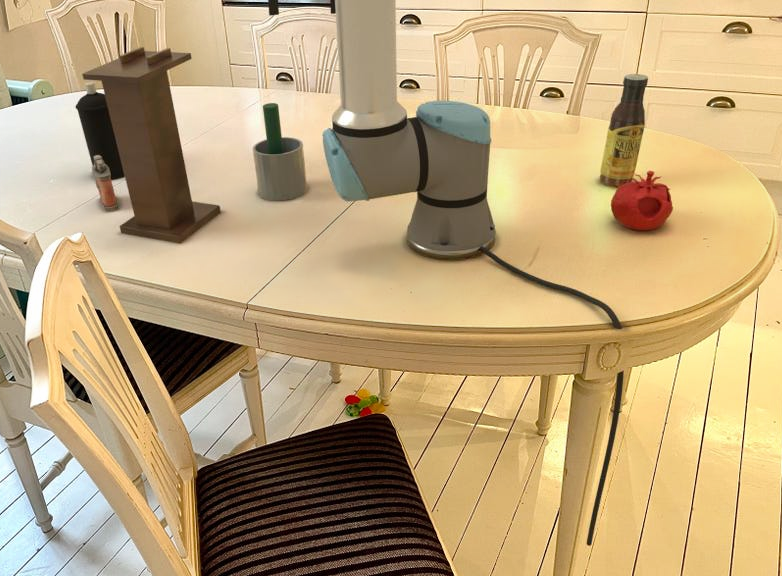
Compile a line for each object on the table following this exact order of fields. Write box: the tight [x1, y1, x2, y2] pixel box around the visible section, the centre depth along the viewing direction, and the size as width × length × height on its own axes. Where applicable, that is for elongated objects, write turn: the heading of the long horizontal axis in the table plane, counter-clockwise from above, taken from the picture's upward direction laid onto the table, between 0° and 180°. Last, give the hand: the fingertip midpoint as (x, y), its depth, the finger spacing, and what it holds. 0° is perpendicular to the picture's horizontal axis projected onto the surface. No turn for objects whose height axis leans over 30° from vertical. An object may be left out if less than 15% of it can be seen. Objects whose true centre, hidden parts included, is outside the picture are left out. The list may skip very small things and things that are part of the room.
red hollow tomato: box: [610, 170, 674, 231], centre depth 127 cm, size 10×10×9 cm
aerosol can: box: [74, 81, 125, 181], centre depth 163 cm, size 8×8×20 cm
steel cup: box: [252, 136, 308, 202], centre depth 150 cm, size 10×10×10 cm
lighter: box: [91, 155, 119, 212], centre depth 152 cm, size 8×3×10 cm, turn 22°
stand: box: [81, 46, 222, 244], centre depth 136 cm, size 15×14×31 cm
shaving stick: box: [262, 102, 283, 154], centre depth 147 cm, size 17×5×5 cm
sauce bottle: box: [599, 73, 649, 188], centre depth 138 cm, size 6×6×20 cm
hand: (304, 14), depth 145 cm, fingers open, 13 cm apart
